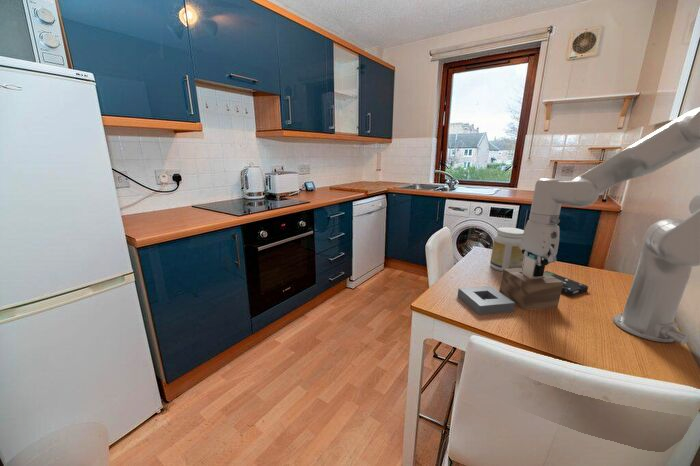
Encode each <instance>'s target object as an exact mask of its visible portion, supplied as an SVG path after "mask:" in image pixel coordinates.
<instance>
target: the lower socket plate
mask: <svg viewBox="0 0 700 466" xmlns="http://www.w3.org/2000/svg"><path fill="white" fill-rule="evenodd" d="M457 297H458V298H459V299H460V300H461V301H462V302H464V303H465V304H466V305H467V306H468V308H471V309H472V310H473V311H474V312H475V313H476V314H477V315H478V316H480V315H489V314H490V315H491V314H500V313H512V312H515V305H516V304H515V302H513V301H512V300H510V299H509V298H507V297H506V296H504V295H503V294H502V293H500V292H499V290H498V289H496V288H494V287H493V286H492V285H478V286H466V287H458V289H457Z"/></svg>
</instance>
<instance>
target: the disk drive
mask: <svg viewBox="0 0 700 466" xmlns="http://www.w3.org/2000/svg"><path fill="white" fill-rule="evenodd" d="M544 272H545V273H547V274H549V275H551V276H553V277H555V278H557V279H559V280H561V281H563V287H562V291H561V295H565V296H567V297H573V296H577V295H580V294H584V293H587V292H588V289H589V286H588V285H586V284H584V283H581V282H579V281H575V280H573V279H570V278H568V277H565V276H561V275H558V274H556V273H554V272H552V271H549V270H547V271H545V270H544Z"/></svg>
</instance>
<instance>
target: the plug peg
mask: <svg viewBox="0 0 700 466" xmlns="http://www.w3.org/2000/svg"><path fill="white" fill-rule="evenodd" d="M537 256H538V255H535V254H529V256H525V260H523V263H524V265H522V268H523V270H522V274H523V275H525V276H526V277H528V278H530V279H539V278H542V276H541V277H534V276H533V274H534V269H535V265H537ZM542 260H543V258H542Z"/></svg>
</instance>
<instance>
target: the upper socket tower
mask: <svg viewBox="0 0 700 466" xmlns="http://www.w3.org/2000/svg"><path fill="white" fill-rule="evenodd" d="M522 268H523V267H522ZM522 268H511V269H503V271H502V274H501V280H500V284H499V290H498V291H499V292H500V293H502V294H503V295H504V296H506V297H507V298H509V299H510V300H512V301H513V302H515V305H517V306H518V307H519V308H521V309H522V310H524V311H533V310H535V311H536V310H544V309H554V308H558V307H559V302H560V299H561V295H562V293H561V291H562V287H563V281H561V280H559V279H557V278H555V277H553V276H551V275H549V274H547V273H545V271H544V274H543V276H542V278H539V279H530V278H528V277H526V276H525V275H523V274H522Z"/></svg>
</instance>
